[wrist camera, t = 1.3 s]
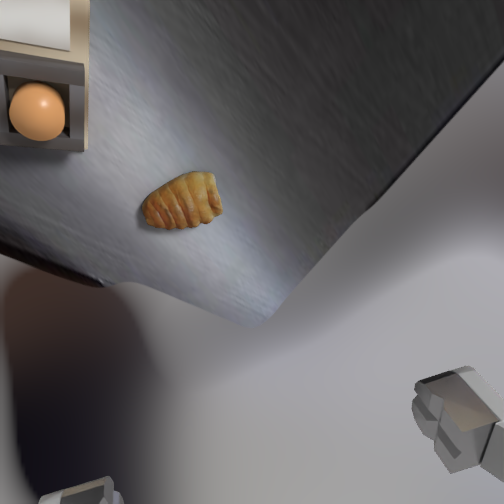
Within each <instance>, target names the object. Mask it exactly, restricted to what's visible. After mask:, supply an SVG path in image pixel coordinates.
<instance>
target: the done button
mask: <svg viewBox="0 0 504 504" xmlns="http://www.w3.org/2000/svg"><path fill="white" fill-rule="evenodd" d="M9 116H10V120H11V122H12V124H13V126H14V127H15V129H16V130H17V131H18V132H19V133H21V134H22V135H24V136H25V137H27V138H29V139H32V140H37V141H47V140H51V139H53V138H55V137H57V136H58V135H59V134H60V133H61V132H62V130H63V128H64V124H65V105H64V101H63V99H62V97H61V95H60V94H59V92H58V91H57V90H56V89H55V88H53V87H52V86H50V85H49V84H47V83H44V82H41V81H28V82H24V83H22V84H21V85H19V86H18V87H17V88H16V90H15V92H14V94H13V98H12V102H11V105H10V110H9Z"/></svg>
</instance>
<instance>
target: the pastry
mask: <svg viewBox="0 0 504 504" xmlns="http://www.w3.org/2000/svg"><path fill="white" fill-rule="evenodd" d="M215 183H216V180H215V176H214V175H213V174H212V173H209V172H197V171H194V172H193V171H192V172H190V173H187V174H182V175H180V176H179V177H177V178H174V179H173V180H171V181H169V182H167V183H166V184H165V185H163V186H161V187H160V188H158V189H156V190H155V191H154V192H152V193H151V194H150V195H149V196H148V197H147V198H146V199H145V201H144V203H143V205H142V211H143V214H144V216H145V219H146V222H147V224H148V225H150V226H154V227H155V228H166V229H168V230H170V229H173V228H178V229H184V228H186V227H189V228H192V227H197V226H198V225H199V224H200V223H203V224H208V223H210V222H211V221H212V220H213V218H214V217H216V216H219V215H220V214H222V212H223V209H222V203H221V198H220V196H219V194H218V190H217V187H216V184H215Z"/></svg>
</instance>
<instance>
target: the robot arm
mask: <svg viewBox="0 0 504 504" xmlns="http://www.w3.org/2000/svg"><path fill="white" fill-rule="evenodd" d="M414 390H415V392H416V393H417V394H418V395H417V396H416V397H415V398H414V399H413V401H412V412H413V415H414V419H415V421H416V423H417V425H418V427H419V428H420V430H421V431H422V433H423V434H424V435H425V436H427V437H428V438H430V439H432V440H434V451H435V452H436V454H437V455H438V456H439V457H440V459H441V461H442V462H443V464H444V465H445V467H446V468H447V469H448V471H449V472H450V474H452V473H455V472H458V471H461V470H464V469H468V468H471V467H474V466H477V465H480V464H481V466H480V467H482V468H483V469H485V470H486V471H488V472H489V473H491V474H492V475H494V476H495V477H497V478H498V479H499V480H501V481H502V482H504V399H503V398H502V397H501V396H500V395H499V394H498V393H497V392H496V391H495V390H494V389H493V388H492V387H491V386H490V384H489V383H488V382H486V380H485V379H484V378H483V377H482V376H481V375H480V374H479V373H478V372H477V371H476V370H475V369H474V368H472V367H470V366H464V367H461V368H458V369H455V370H451V371H447V372H444V373H441V374H438V375H435V376H432V377H429V378H426V379H423V380H420V381H418V382H417V383H416V384H415V388H414ZM113 489H114V483H113V481H112V480H111V478H110V477H109V476H107V477H104V478H101V479H98V480H95V481H91V482H88V483H85V484H81V485H78V486H75V487H72V488H68V489H63V490H60V491H57V492H54V493H51V494H48V495H44V496H42V497H41V499H40V501H39V503H38V504H124V502H123V499H122V497H121V495H120V493H119V492H116V491H113Z"/></svg>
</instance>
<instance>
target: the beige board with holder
mask: <svg viewBox="0 0 504 504" xmlns="http://www.w3.org/2000/svg"><path fill="white" fill-rule="evenodd" d="M89 19H90V0H0V145H8V146H21V147H33V148H45V149H57V150H69V151H81V152H84V149H88V88H89ZM28 81H41V82H44V83H47V84H49V85H50V86H52V87H53V88H55V89H56V90H57V91H58V92H59V94H60V95H61V97H62V99H63V101H64V105H65V124H64V128H63V130H62V132H61V133H60V134H59V135H58V136H57V137H55V138H53V139H51V140H47V141H37V140H32V139H29V138H27V137H25V136H24V135H22V134H21V133H19V132H18V131H17V130H16V129H15V127H14V126H13V124H12V122H11V120H10V116H9V110H10V105H11V102H12V98H13V94H14V92H15V90H16V88H17V87H18V86H19V85H21V84H22V83H24V82H28Z"/></svg>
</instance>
